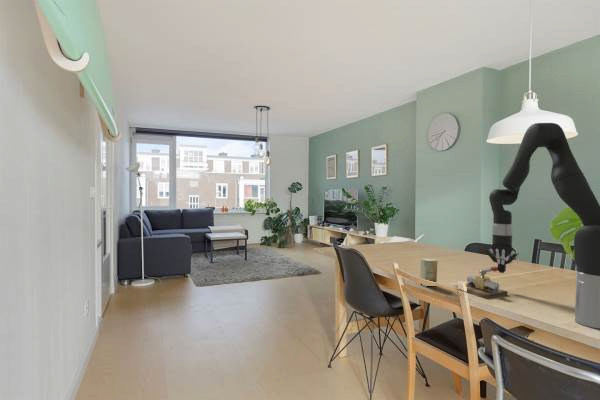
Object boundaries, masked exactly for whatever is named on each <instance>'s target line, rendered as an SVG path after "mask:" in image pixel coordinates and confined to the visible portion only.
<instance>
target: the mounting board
mask: <svg viewBox="0 0 600 400" xmlns="http://www.w3.org/2000/svg"><path fill="white" fill-rule="evenodd" d="M465 285H466V287H467V292H468V293H467V292H466V293H467V294H470V295H474V296H477V297H479V298H483V299H490V298H496V297H497V298H498V297H503V296H508V295H509V294H508V293H509V292H508V291H507V290H505V289H501V288H499V289H498V293H495V294H491V293H488V289H485V290H482V289H479V288H476V287H469V286H467V284H465Z"/></svg>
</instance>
